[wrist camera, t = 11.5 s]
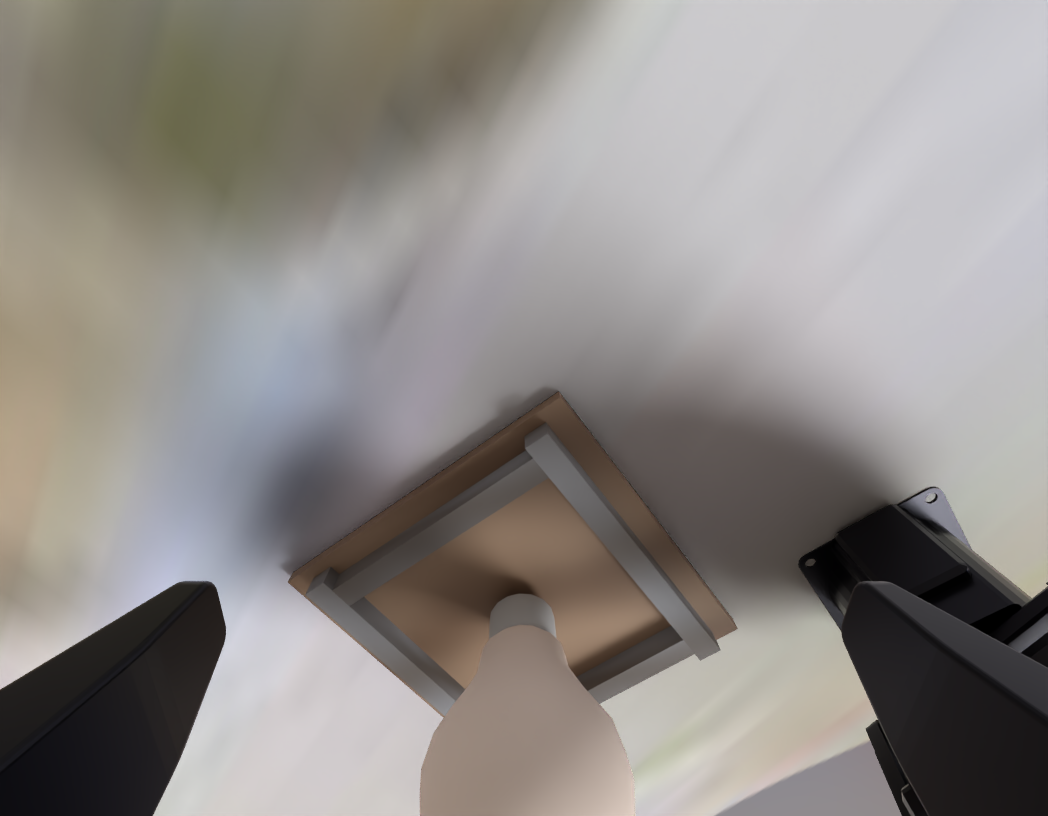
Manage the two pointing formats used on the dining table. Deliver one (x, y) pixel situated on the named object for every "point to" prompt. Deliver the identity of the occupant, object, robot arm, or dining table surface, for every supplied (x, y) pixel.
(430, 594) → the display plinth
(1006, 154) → the dining table surface
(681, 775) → the dining table surface
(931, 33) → the dining table surface
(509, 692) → the light bulb
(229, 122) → the dining table surface
